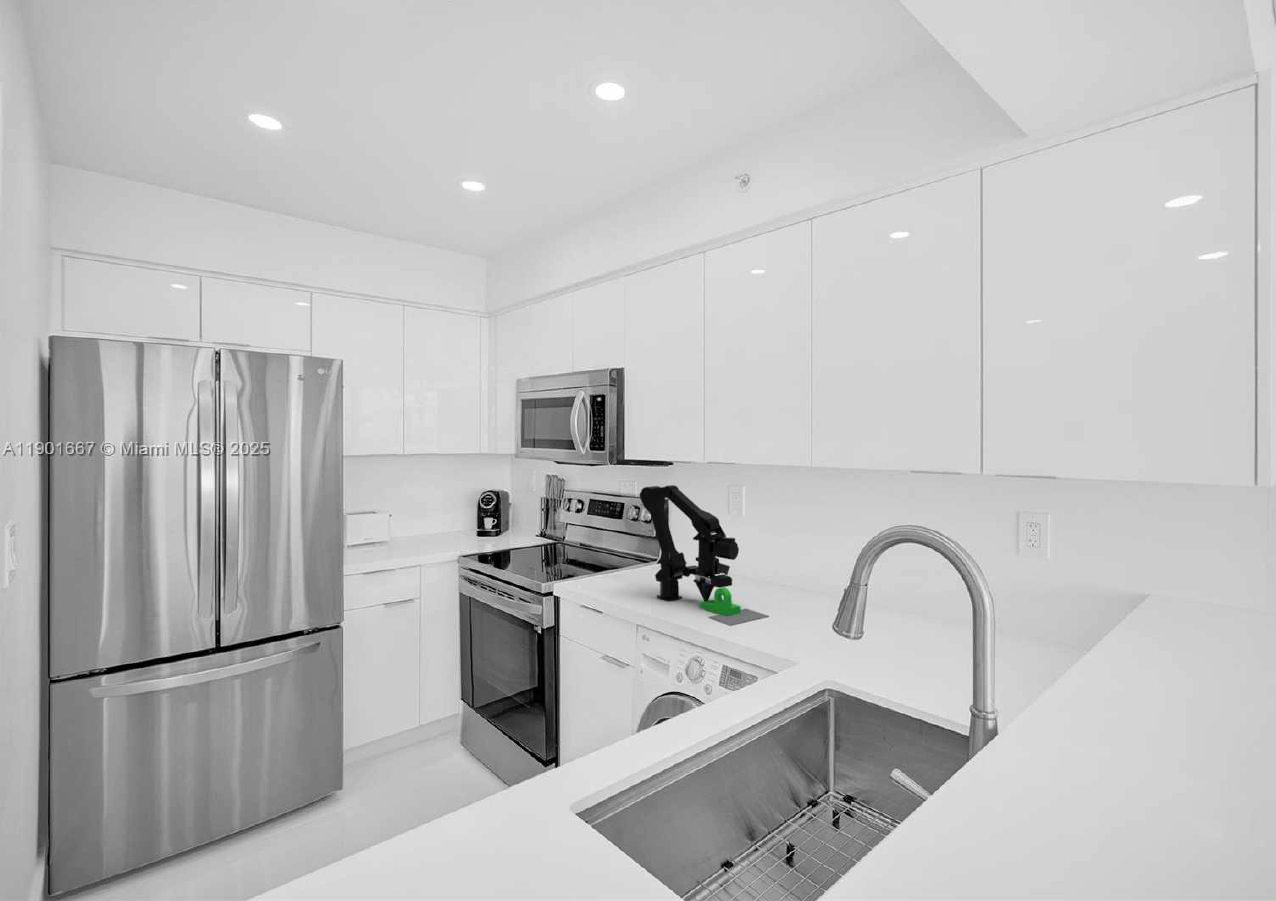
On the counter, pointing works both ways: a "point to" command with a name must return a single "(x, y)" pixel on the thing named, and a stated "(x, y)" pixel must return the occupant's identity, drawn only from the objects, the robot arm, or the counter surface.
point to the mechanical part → (721, 603)
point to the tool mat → (738, 617)
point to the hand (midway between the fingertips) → (706, 602)
